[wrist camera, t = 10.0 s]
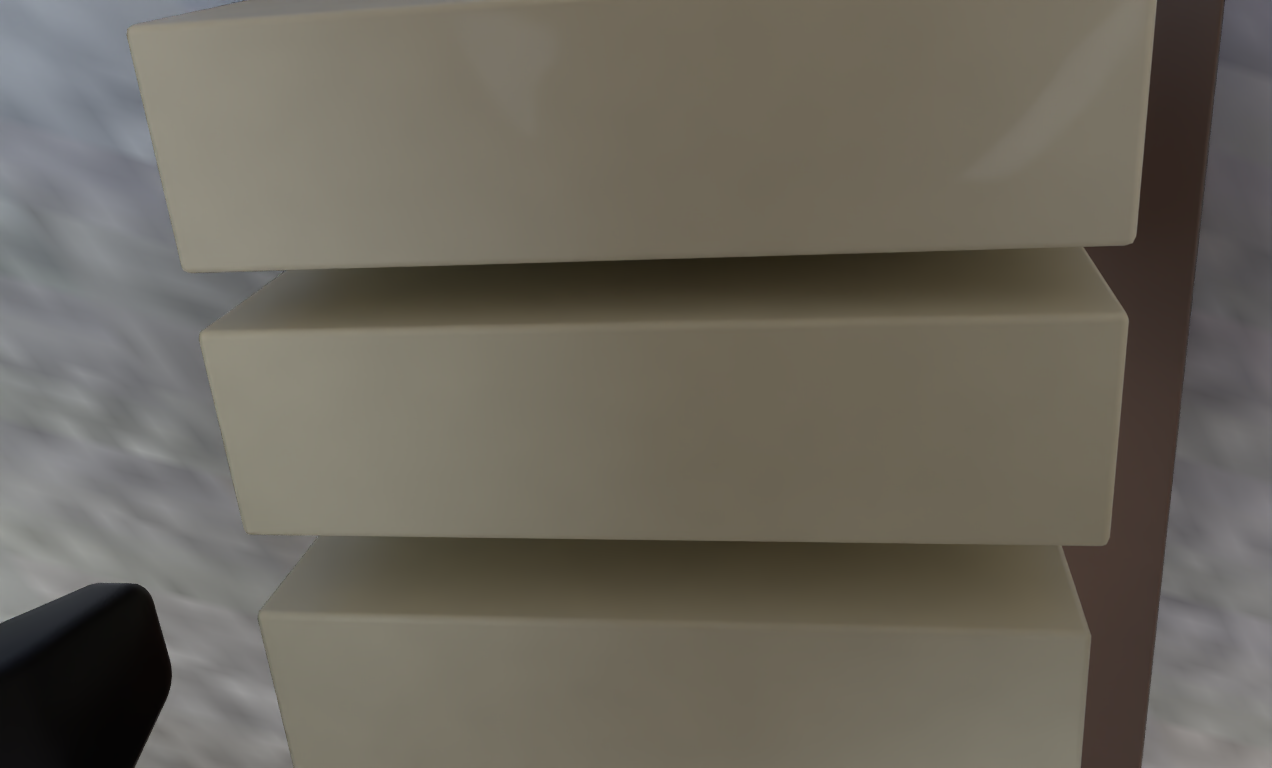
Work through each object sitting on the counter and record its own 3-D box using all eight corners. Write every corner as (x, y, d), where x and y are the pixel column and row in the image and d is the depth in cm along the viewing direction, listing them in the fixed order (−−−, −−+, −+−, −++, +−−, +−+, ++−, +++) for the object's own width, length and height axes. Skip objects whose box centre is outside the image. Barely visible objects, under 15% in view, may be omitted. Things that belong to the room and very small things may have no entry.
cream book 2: (507, 244, 15) (242, 539, 9) (491, 121, 15) (192, 332, 8) (983, 229, 14) (1111, 549, 8) (988, 96, 14) (1133, 314, 7)
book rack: (494, 997, 23) (381, 1363, 17) (300, -121, 15) (-19, -118, 10) (1090, 1047, 21) (1183, 1478, 15) (1217, -206, 13) (1494, -266, 8)
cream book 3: (523, 402, 16) (293, 782, 9) (508, 292, 16) (252, 612, 9) (971, 397, 15) (1077, 822, 8) (975, 279, 15) (1092, 635, 8)
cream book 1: (487, 89, 15) (179, 275, 8) (471, -48, 14) (119, 25, 7) (989, 60, 14) (1138, 247, 7) (994, -89, 13) (1163, -50, 6)
